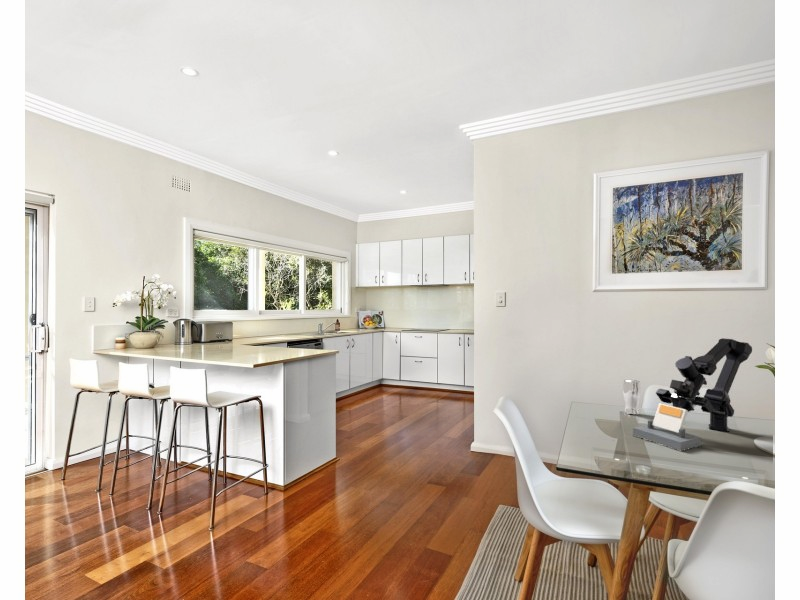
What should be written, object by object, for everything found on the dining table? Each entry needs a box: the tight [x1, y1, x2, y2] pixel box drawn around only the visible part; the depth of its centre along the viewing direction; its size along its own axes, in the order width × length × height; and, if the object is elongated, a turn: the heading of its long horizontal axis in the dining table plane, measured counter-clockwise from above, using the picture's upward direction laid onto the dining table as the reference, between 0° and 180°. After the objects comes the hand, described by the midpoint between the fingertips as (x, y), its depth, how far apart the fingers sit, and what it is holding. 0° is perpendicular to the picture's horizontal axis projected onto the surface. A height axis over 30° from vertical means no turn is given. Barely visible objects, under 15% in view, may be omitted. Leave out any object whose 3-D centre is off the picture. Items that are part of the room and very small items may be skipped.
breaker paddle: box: [652, 402, 689, 433], centre depth 162 cm, size 2×10×9 cm, turn 26°
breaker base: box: [632, 419, 702, 451], centre depth 161 cm, size 12×18×6 cm, turn 26°
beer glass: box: [622, 379, 641, 414], centre depth 197 cm, size 7×7×15 cm
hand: (673, 417), depth 163 cm, fingers closed
